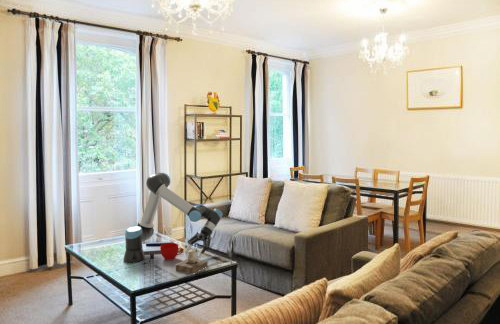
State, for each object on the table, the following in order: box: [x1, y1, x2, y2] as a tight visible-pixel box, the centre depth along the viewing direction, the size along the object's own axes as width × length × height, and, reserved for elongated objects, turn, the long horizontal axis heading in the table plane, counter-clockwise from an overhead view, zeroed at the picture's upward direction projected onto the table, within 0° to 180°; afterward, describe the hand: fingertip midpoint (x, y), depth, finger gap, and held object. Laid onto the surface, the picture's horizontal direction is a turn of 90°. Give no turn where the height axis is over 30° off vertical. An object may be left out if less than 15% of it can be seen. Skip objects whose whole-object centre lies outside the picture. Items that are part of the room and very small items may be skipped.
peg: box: [187, 249, 197, 265], centre depth 288 cm, size 5×5×12 cm
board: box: [175, 258, 209, 274], centre depth 288 cm, size 15×16×4 cm
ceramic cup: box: [159, 242, 184, 261], centre depth 307 cm, size 13×17×10 cm
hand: (191, 254), depth 287 cm, fingers open, 13 cm apart
